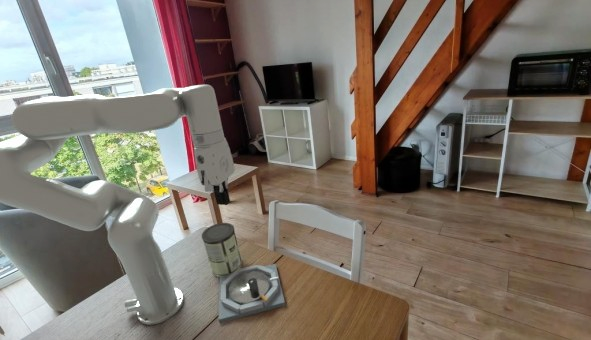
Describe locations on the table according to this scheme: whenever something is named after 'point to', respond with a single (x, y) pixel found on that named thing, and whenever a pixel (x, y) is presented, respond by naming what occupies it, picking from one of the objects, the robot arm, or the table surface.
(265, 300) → the panel
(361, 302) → the table surface
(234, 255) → the coffee can
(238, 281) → the dial
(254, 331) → the table surface
